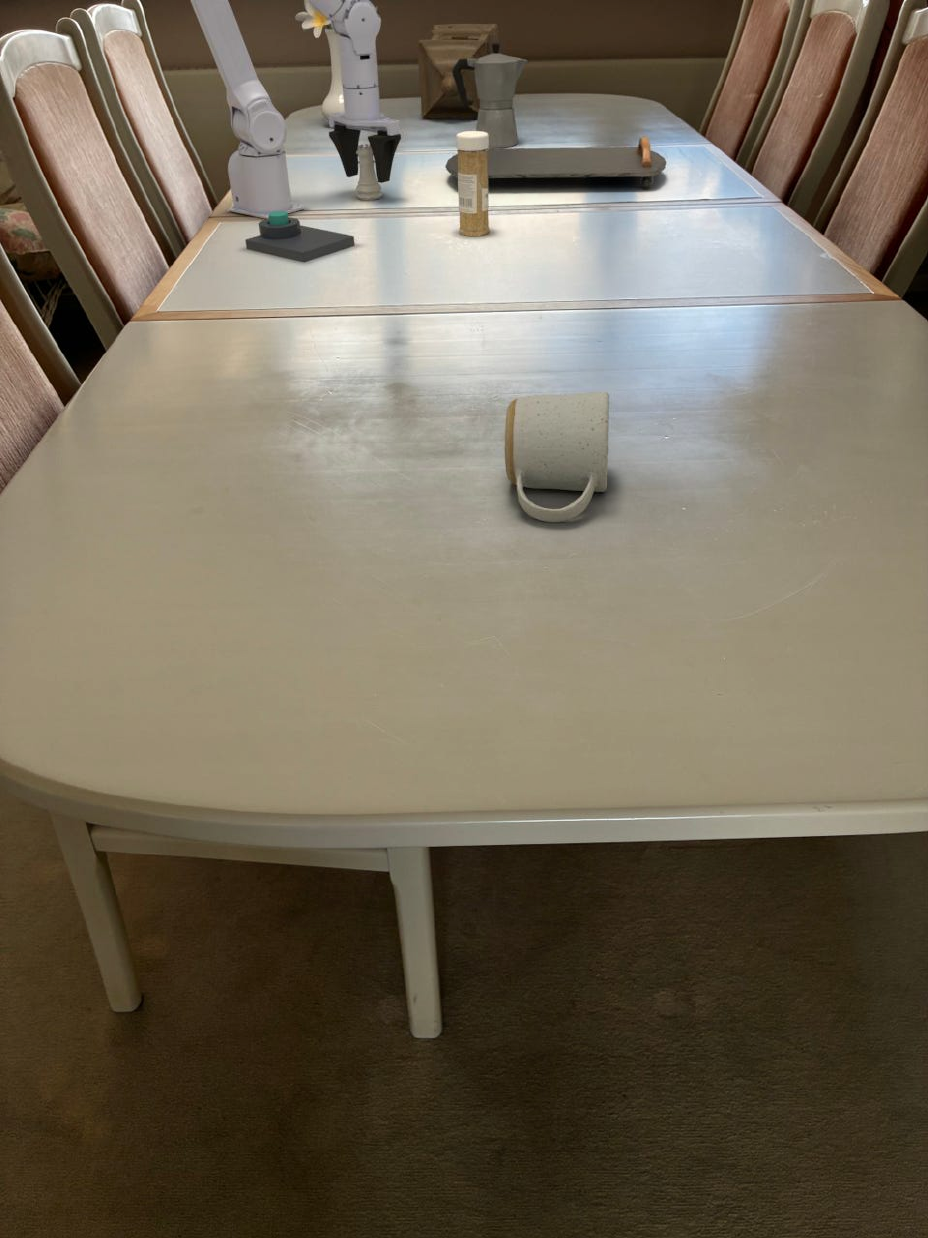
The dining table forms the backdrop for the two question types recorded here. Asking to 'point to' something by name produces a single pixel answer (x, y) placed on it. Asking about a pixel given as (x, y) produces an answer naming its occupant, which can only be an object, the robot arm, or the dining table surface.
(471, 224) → the sprinkles bottle
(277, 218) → the button
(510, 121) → the coffeepot
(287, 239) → the dark grey flat block
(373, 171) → the rook chess piece
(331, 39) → the flower vase
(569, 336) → the dining table surface
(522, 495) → the ceramic mug
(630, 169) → the serving tray
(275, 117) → the robot arm
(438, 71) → the ornamental box
